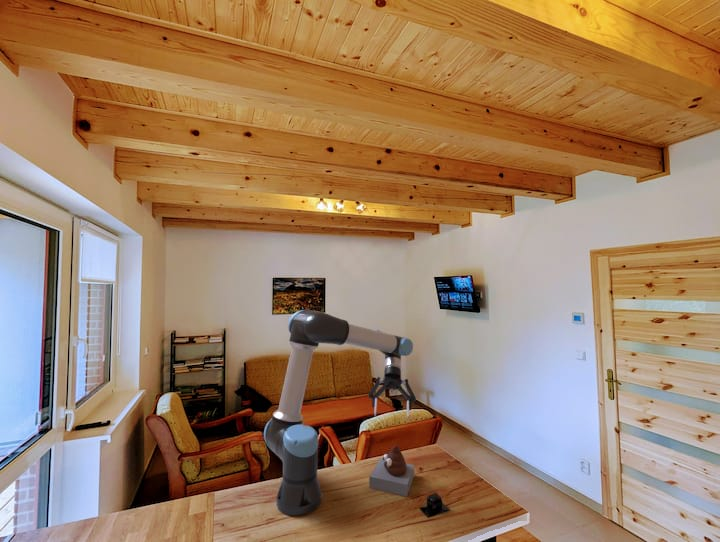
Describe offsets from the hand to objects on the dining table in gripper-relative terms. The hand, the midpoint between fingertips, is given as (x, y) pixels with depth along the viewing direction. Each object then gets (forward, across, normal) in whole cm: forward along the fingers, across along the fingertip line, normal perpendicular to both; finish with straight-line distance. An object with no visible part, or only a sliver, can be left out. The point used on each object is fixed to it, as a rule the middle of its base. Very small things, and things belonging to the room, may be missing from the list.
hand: (391, 416), depth 137 cm
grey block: (+22, -1, -6) cm, 23 cm away
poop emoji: (+19, -2, -4) cm, 19 cm away
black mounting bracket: (+32, -15, +4) cm, 36 cm away
